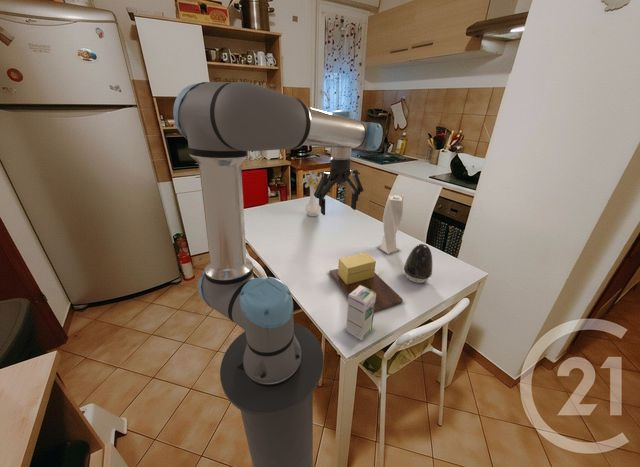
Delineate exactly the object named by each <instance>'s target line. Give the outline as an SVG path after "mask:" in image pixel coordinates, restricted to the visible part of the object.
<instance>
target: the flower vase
mask: <svg viewBox="0 0 640 467" xmlns="http://www.w3.org/2000/svg"><path fill="white" fill-rule="evenodd" d="M308 173H309V174H307V172H305V173H304V178H303V179H302V183H301V184H300V186H302V185H303V184H304V187H305V188H308V187H309V202H308V203H307V204H306V205H305V207H304V211H305V213H306V214H307V216H309V217H316V216H318V215H319V213H321V207H320V206H319V203H318V202H317V198H316V197H315V196H314V193H315V191H316V189H317V187H318V184H319V182H320V180H321V178H322V172H320V173H319V176H318V172H317V171H315V172H313V171H312V170H308ZM325 186H326V184H325V185H324V187H325Z"/></svg>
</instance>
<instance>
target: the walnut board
mask: <svg viewBox="0 0 640 467" xmlns="http://www.w3.org/2000/svg"><path fill="white" fill-rule="evenodd" d="M328 274H329V275H330V277H331V278H332V279H333V280H334V281H335V283H336V285H337V286H338V287H339V288H340V289H341V291H342V292H343V293H344V294H345V295H346V297H347V298H348V296H349V294H350V293H351V292H352V291H353V290H355V289H356V288H357V287H358V286H359V285H361V286H363V287H366V288H368V289H370V290H371V291H373V292H375V293H376V299H375V308H374V313H376V312H379V311H381V310H385V309H388V308H391V307H393V306H396V305H400V304H402V303H403V301H404V299H403V298H402V297H401V296H400V295H399V294H398V293H397V292H396V291H395V290H394V289H393V288H392V287H391V286H389V285H388V284H387V283H386V282H385V281H384V279H382V278H381V277H380V276H379V275H378V274H377V273H376V272H375V271H374V277H372V278H368V279H365V280H361V281H358V282H354V283H351V284H346V283H345V282H344V281H343V280H342V278H341V277H340V276H339V275H338V268H334V269H330V270H329V271H328Z"/></svg>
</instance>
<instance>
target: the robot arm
mask: <svg viewBox="0 0 640 467" xmlns="http://www.w3.org/2000/svg"><path fill="white" fill-rule="evenodd" d="M173 103H174V104H173V109H172V116H173V121H174V124H175V127H176V129H177V131H178V132H179V133H180V134H181V135H182V136H183V137H184V138H185V139H186V140H187V144H188V151H189V157H191V158H192V159H193V160H194V161H195V162H197V164H198V169H199V178H200V186H201V193H202V194H201V195H202V201H203V203H202V204H203V211H204V220H205V221H204V222H205V228H206V237H207V245H208V246H207V247H208V254H209V261H208V262H207V263H206V264H205V266H204V270H203V271H202V273H201V275H202V276H201V277H199V278H198V279H199V280H198V285H197V290H198V294H199V296H200V299H201V300H202V301H203V302H205V304H206V305H207V306H208V307H209V308H211V309H213V310H215V311H216V312H218V313H219V314H221V315H222V316H224V317H225V318H227V319H228V320H230V322H231V321H232V323H234V324H235V325H237V326H238V327H240V328H241V329H242V330H244V332H246V338H247V345H246V348H245V352H244V356H243V362H242V363H241V364H239V365H237V368H240V367H241V366H244V370H245V373H246V375H247V377H248V378H249V379H250V380H251V381H252V382H254V383H256V384H258V385H261V386H276V385H280V384H282V383H284V382H286V381H288V380H289V379H291V378H292V377H293V376H294V375H295V374H296V372H297V371H298V369H299V367H300V365H301V360H302V352H301V347H300V344H299V342H298V340H297V338H296V337H295V335H294V323H295V321H294V301H293V296H292V292H291V290H290V287H289V286H288V285H287V284H286V283H284V281H282V280H281V279H278V278H276V277H272V276H268V277H267V278H266V277H265V276H259V277H255V276H254V267H253V266H254V265H253V261H252V260H251V259H250V258H248V257H247V250H246V248H247V247H246V246H247V245H246V230H245V229H246V228H245V227H246V226H245V210H244V208H245V207H244V190H243V188H244V187H243V171H242V164H243V162H245V160H246V159H247V158H248V157H249V152H264V151H265V152H266V151H277V150H278V151H279V150H289V151H290V150H291V151H292V150H297V149H300V148H301V147H302V146H309V147H311V146H312V147H326V148H330V153H329V154H330V156H329V157H330V159H329V171H328V172H325V171H322V172H321V175H322V178H321V180H320V182H319V184H318V187H317V189H316V191H315V193H314V196H315V198H316V199H318V205H319V206H320V209H321V210H320V214H321V215H322V216H325V215H326V198H325V197H326V196H327V195H328V193H329V192H330V190H331V189H332V188H333V186H335V185H336V184H344V183H346V184H347V185H348V187H349V188H350V189H351V190H352V191H353V192H351V200H350V201H351V203H350V208H351V209H352V210H353V211H356V210H357V202H359V195H361V193H363V192H364V187H363V184H362V183H361V180H360V178H359V173H358V169H356V168H352V167H351V165H352V159H351V157H352V150H353V149H354V150H363V151H374V152H375V151H377V150H378V149H379V148H380V146H381V144H382V141H383V140H382V139H383V135H384V131H383V126H382V125H381V124H380V123H376V122H372V121H362V120H358V119H357V120H356V119H354V112H352V111H351V110H333V111H332V112H327V111H323V110H321V109H316V108H314V107H313V108H312V107H308V105H307V104H306V103H305V102H304V101H303V100H302V99H300V98H298V97H295V96H291V95H288V94H286V93H282V92H280V91H277V90H274V89H271V88H268V87H266V86H262V85H259V84H255V83H251V82H246V81H233V82H232V81H231V82H230V81H228V82H227V81H226V82H225V81H222V82H221V81H202V82H198V83H197V82H196V83H192V84H189V85H187V86H186V87H184V88H183V89H182V90H181V91H180V92H179V93H178V94H177V95H176V98H175V100H174V102H173ZM351 168H352V169H351ZM350 175H351V176H352V179H353V182H354V183H353V182H352V180H351V179H350V178H349V177H350ZM329 177H330V178H329ZM324 185H325V186H324Z"/></svg>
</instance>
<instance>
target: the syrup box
mask: <svg viewBox="0 0 640 467" xmlns="http://www.w3.org/2000/svg"><path fill="white" fill-rule="evenodd" d="M375 299H376V293H375V292H373V291H371V290H370V289H368V288H366V287H363V286H361V285H359V286H358V287H357V288H356V289H355V290H353V291H352V292H351V293H350V294H349V296H348V297H347V312H346V314H347V315H346V332H347V333H349V334H350V335H352V336H354V337H355V338H357V339H358V340H359V341H363V340H364V339H365V338H366V337H367V336H368V335H369V333H370V332H371V331H372V330H373V325H374V324H373V323H374V315H375V312H374V308H375Z"/></svg>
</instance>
